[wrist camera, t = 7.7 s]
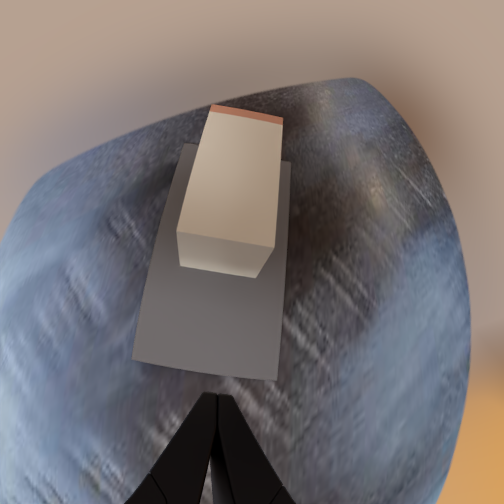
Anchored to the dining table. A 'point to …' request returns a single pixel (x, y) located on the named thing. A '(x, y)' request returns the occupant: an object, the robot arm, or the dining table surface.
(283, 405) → the dining table surface
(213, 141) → the cream block
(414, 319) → the dining table surface
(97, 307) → the dining table surface
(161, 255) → the charcoal mat
